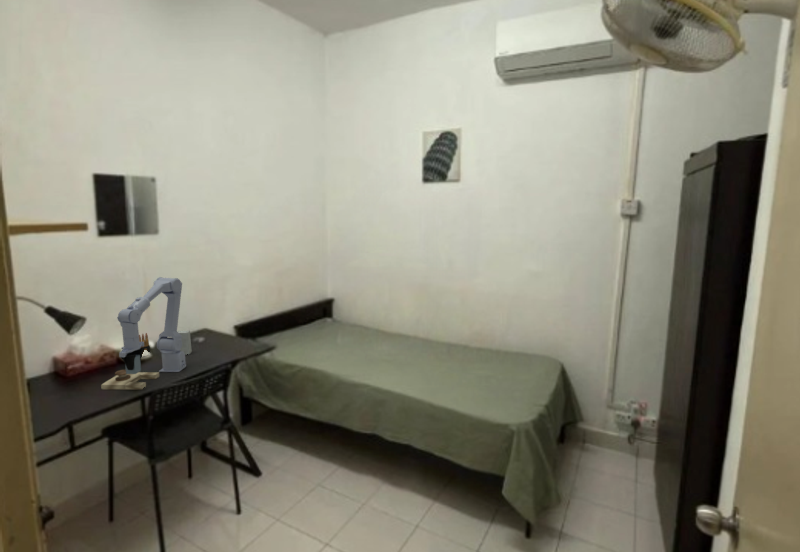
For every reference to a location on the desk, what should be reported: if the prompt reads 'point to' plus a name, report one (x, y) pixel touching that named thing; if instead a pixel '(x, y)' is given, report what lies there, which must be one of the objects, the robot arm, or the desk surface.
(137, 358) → the tab peg
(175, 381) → the desk surface
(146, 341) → the ammunition clip
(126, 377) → the notched board
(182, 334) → the skincare box
